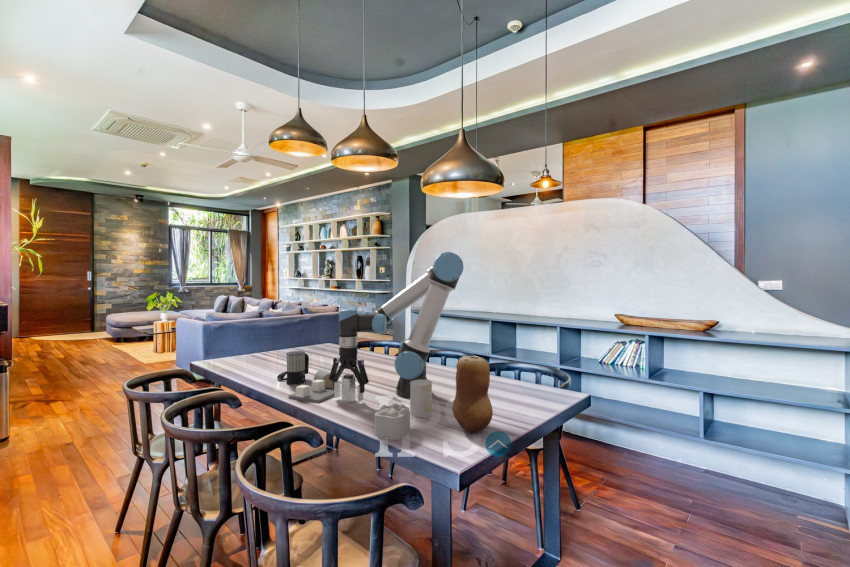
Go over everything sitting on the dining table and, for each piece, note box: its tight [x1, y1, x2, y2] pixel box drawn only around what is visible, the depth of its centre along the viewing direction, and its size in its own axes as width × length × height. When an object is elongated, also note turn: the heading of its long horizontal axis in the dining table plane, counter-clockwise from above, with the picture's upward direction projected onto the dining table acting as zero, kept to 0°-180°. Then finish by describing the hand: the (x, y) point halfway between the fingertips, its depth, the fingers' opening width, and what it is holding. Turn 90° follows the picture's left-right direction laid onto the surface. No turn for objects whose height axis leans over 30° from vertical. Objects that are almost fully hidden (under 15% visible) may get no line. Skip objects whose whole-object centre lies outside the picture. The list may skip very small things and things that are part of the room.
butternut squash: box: [452, 355, 494, 434], centre depth 140 cm, size 14×13×25 cm
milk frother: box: [276, 350, 310, 385], centre depth 206 cm, size 14×16×15 cm
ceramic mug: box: [313, 369, 333, 390], centre depth 196 cm, size 11×8×8 cm
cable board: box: [288, 380, 334, 404], centre depth 181 cm, size 16×14×5 cm
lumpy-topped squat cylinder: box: [374, 403, 411, 441], centre depth 139 cm, size 10×13×9 cm
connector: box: [341, 373, 356, 404], centre depth 173 cm, size 4×4×11 cm
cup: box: [409, 379, 433, 418], centre depth 157 cm, size 8×8×12 cm
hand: (348, 398), depth 173 cm, fingers open, 11 cm apart
